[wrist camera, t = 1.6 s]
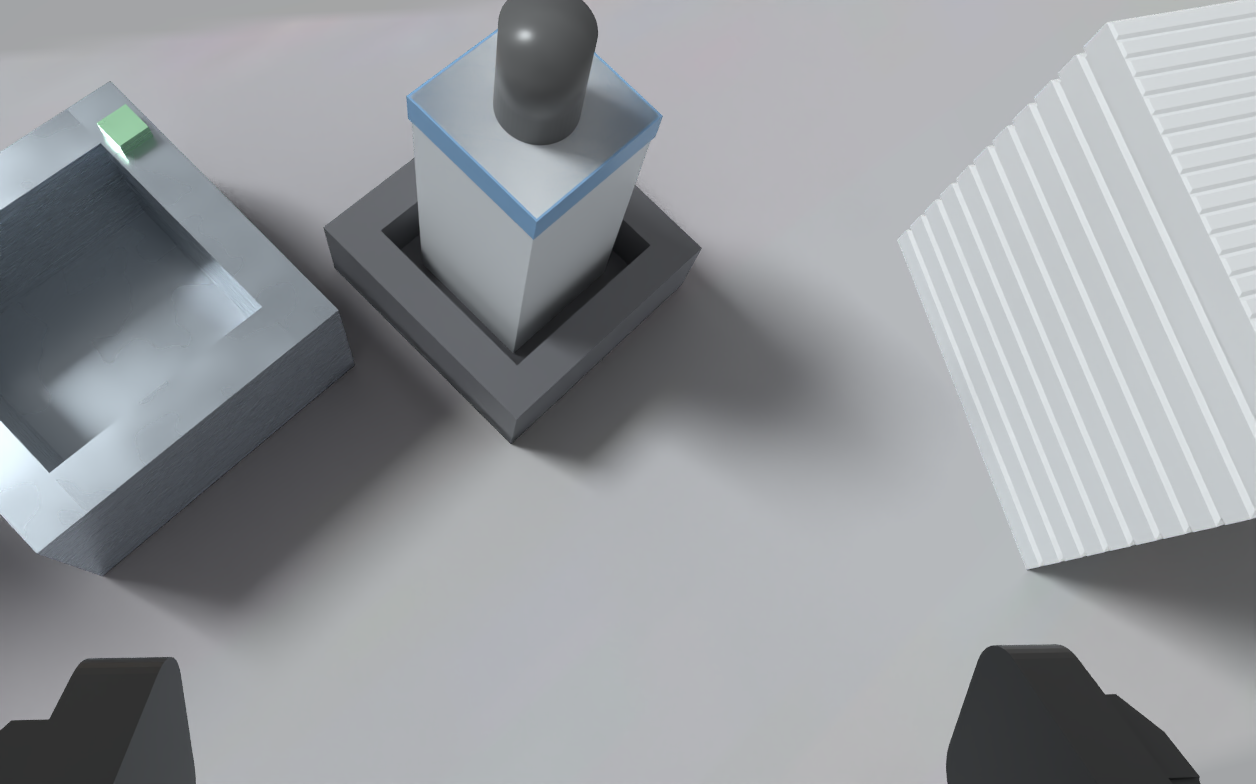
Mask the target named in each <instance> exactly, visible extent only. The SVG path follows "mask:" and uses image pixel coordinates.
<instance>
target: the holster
mask: <svg viewBox="0 0 1256 784" xmlns="http://www.w3.org/2000/svg"><path fill="white" fill-rule="evenodd" d="M324 231H325V235H326V238H327V242H328V245H329V249H330V253H331V256H332V260H333V263H334V267H335V269H336V270H337V271H338V272H339V273H340V274H341V275H342V276H343V277H344V278H345V279H346V280H347V281H348V282H349V283H350V284H351V285H352V286H353V287H354V288H355V289H356V290H357V291H358V292H359V293H360V294H361V295H362V296H363V297H364V298H365V299H366V300H367V301H368V302H369V303H370V304H371V305H372V306H373V307H374V308H375V309H376V310H377V311H378V312H379V313H380V314H381V315H382V316H383V317H384V318H385V319H386V320H387V321H388V322H389V323H390V324H391V325H392V326H393V327H394V328H395V329H396V330H397V331H398V332H399V333H400V334H401V335H402V336H403V337H404V338H405V339H406V340H407V341H408V342H409V343H410V344H411V345H412V346H413V347H414V348H415V349H416V350H417V351H418V352H419V353H420V354H421V355H422V356H423V357H424V358H425V359H426V360H427V361H428V362H429V363H430V364H431V365H432V366H433V367H434V368H435V369H436V370H437V371H438V372H439V373H440V374H441V375H442V376H443V377H444V378H445V379H446V380H447V381H448V382H449V383H450V384H451V385H452V386H453V387H454V388H455V389H456V390H457V391H458V392H459V393H460V394H461V395H462V396H463V397H464V398H465V399H466V400H467V401H468V402H469V403H470V404H471V405H472V406H473V407H474V408H475V409H476V410H477V411H478V412H479V413H480V414H481V415H482V416H483V417H484V418H485V419H486V420H487V421H488V422H489V423H490V424H491V425H492V426H493V427H494V428H495V429H496V430H497V431H498V432H499V433H500V434H501V435H502V436H503V437H504V438H505V439H506V440H507V441H508V442H509V443H510V444H511V443H512V442H514V441H515V440H516V439H517V438H518V437H519V436H520V435H521V434H522V433H523V432H524V431H525V430H526V429H527V428H529V427H530V426H531V425H532V424H533V423H534V422H535V421H536V420H537V419H538V418H539V417H540V416H541V415H542V414H544V413H545V412H546V411H547V410H548V409H549V408H550V407H551V406H552V405H553V404H554V403H555V402H556V401H557V400H559V399H560V398H561V397H562V396H563V395H564V394H565V393H566V392H567V391H568V390H569V389H570V388H571V387H572V386H574V385H575V384H576V383H577V382H578V381H579V380H580V379H581V378H582V377H583V376H584V375H585V374H586V373H587V372H589V371H590V370H591V369H592V368H593V367H594V366H595V365H596V364H597V363H598V362H599V361H600V360H601V359H602V358H604V357H605V356H606V355H607V354H608V353H609V352H610V351H611V350H612V349H613V348H614V347H615V346H616V345H617V344H619V343H620V342H621V341H622V340H623V339H624V338H625V337H626V336H627V335H628V334H629V333H630V332H631V331H632V330H634V329H635V328H636V327H637V326H638V325H639V324H640V323H641V322H642V321H643V320H644V319H645V318H646V317H647V316H649V315H650V314H651V313H652V312H653V311H654V310H655V309H656V308H657V307H658V306H659V305H660V304H661V303H662V302H664V301H665V300H666V299H667V298H668V297H669V296H670V295H671V294H672V293H673V292H674V291H675V290H676V289H677V288H679V287H680V286H681V285H682V283H683V281H684V279H685V277H686V276H687V274H688V272H689V270H690V268H691V267H692V265H693V263H694V261H695V259H696V258H697V256H698V254H699V252H700V250H701V249H702V248H701V247H700V246H699V245H698V244H697V243H696V242H695V241H694V240H693V239H691V238H690V237H689V236H688V235H687V234H686V233H685V232H684V231H683V230H682V229H681V228H680V227H679V226H678V225H677V224H676V223H675V222H674V221H672V220H671V219H670V218H669V217H668V216H667V215H666V214H665V213H664V212H663V211H662V210H661V209H660V208H659V207H658V206H657V205H656V204H655V203H654V202H652V201H651V200H650V199H649V198H648V197H647V196H646V195H645V194H644V193H643V192H642V191H641V190H640V189H639V188H638V187H637V186H636V185H635V186H634V189H633V192H632V195H631V197H630V200H629V203H628V206H627V209H626V212H625V214H624V217H623V220H622V223H621V226H620V229H619V231H618V234H617V237H616V240H615V243H614V245H613V248H612V251H611V254H610V257H609V260H608V262H607V265H606V268H605V271H604V273H603V274H602V275H601V276H599V277H598V278H597V279H596V280H595V281H594V282H593V283H592V284H590V285H589V286H588V287H587V288H586V289H585V290H584V291H583V292H581V293H580V294H579V295H578V296H577V297H576V298H575V299H574V300H573V301H571V302H570V303H569V304H568V305H567V306H566V307H565V308H564V309H562V310H561V311H560V312H559V313H558V314H557V315H556V316H555V317H553V318H552V319H551V320H550V321H549V322H548V323H547V324H546V325H544V326H543V327H542V328H541V329H540V330H539V331H538V332H537V333H536V334H534V335H533V336H532V337H531V338H530V339H529V340H528V341H527V342H525V343H524V344H523V345H522V346H521V347H520V348H519V349H518V350H516V351H515V352H514V353H512V352H511V351H510V350H509V349H508V348H507V347H506V346H505V345H504V344H503V343H502V342H501V341H500V340H499V339H498V338H497V337H496V336H495V335H494V334H493V333H492V332H491V331H490V330H489V329H488V328H487V327H486V326H485V325H484V324H483V323H482V322H481V321H480V320H479V319H478V318H477V317H476V316H475V315H474V314H473V313H472V312H471V311H470V310H469V309H468V308H467V307H466V306H465V305H464V304H463V303H462V302H461V301H460V300H459V299H458V298H457V297H456V296H455V295H454V294H453V293H452V292H451V291H450V290H449V289H448V288H447V287H446V286H445V285H444V284H443V283H442V282H440V281H439V280H438V279H437V278H436V277H435V276H434V275H433V274H432V273H431V272H430V271H429V270H428V269H427V268H426V267H425V266H424V265H423V264H422V255H421V241H420V227H419V213H418V199H417V186H416V172H415V158H413V159H412V160H411V161H410V162H408V163H407V164H406V165H404V166H403V167H402V168H400V169H399V170H398V171H397V172H395V173H394V174H393V175H391V176H390V177H389V178H387V179H386V180H385V181H383V182H382V183H381V184H380V185H378V186H377V187H376V188H374V189H373V190H372V191H370V192H369V193H368V194H367V195H365V196H364V197H363V198H361V199H360V200H359V201H357V202H356V203H355V204H353V205H352V206H351V207H350V208H348V209H347V210H346V211H344V212H343V213H342V214H340V215H339V216H338V217H337V218H335V219H334V220H333V221H331V222H330V223H329V224H327V225H326V226H325V227H324Z"/></svg>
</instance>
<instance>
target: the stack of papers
mask: <svg viewBox="0 0 1256 784" xmlns="http://www.w3.org/2000/svg"><path fill="white" fill-rule="evenodd" d="M1083 48H1084V50H1085V53H1081V54H1076V55H1075V56H1074V57H1073V58H1072V59H1071V60H1070V61H1069V62H1068V63H1067V64H1066V65H1065V66H1064V67H1063V68H1062V69H1061V70H1060V71H1059V72H1058V76H1059V78H1060V79H1054V80H1051V81H1050V82H1049V83H1048V84H1047V85H1046V86H1045V87H1044V88H1043V89H1042V90H1041V91H1040V92H1039V93H1038V94H1037V95H1036V96H1035V97H1034V99H1035V101H1036V103H1030V104H1027V105H1026V106H1025V108H1024V109H1023V110H1022V111H1021V112H1020V113H1019V114H1018V115H1017V116H1016V117H1015V118H1014V119H1013V120H1012V121H1013V123H1014V125H1009V126H1006V127H1005V128H1004V129H1003V130H1002V131H1001V132H1000V133H999V134H998V135H997V137H996V138H995V139H994V140H993V141H992V142H993V144H994V145H992V146H987V147H986V148H985V149H984V150H983V151H982V152H981V153H980V154H979V155H978V156H977V157H976V158H975V159H974V160H973V161H974V163H975V164H973V165H969V166H968V167H967V168H966V169H965V170H964V171H963V172H962V173H961V174H960V175H959V176H958V177H957V178H956V180H957V182H955V183H951V184H950V185H949V186H948V187H947V188H946V189H945V190H944V191H943V192H942V194H941V195H940V198H941V199H937V200H935V201H934V202H933V203H932V204H931V205H930V206H929V207H928V208H927V209H926V210H925V211H924V212H925V215H920V216H919V217H918V218H917V219H916V220H915V221H914V223H913V224H912V225H911V226H910V228H911V229H909V230H906V231H905V232H904V233H903V234H902V235H901V236H900V237H899V238H898V239H897V240H898V243H899V245H900V248H901V250H902V253H903V255H904V258H905V260H906V263H907V266H908V268H909V271H910V273H911V276H912V278H913V281H914V283H915V286H916V289H917V291H918V294H919V296H920V299H921V301H922V304H923V306H924V309H925V312H926V314H927V317H928V319H929V322H930V324H931V327H932V329H933V332H934V335H935V337H936V340H937V342H938V345H939V347H940V350H941V352H942V355H943V358H944V360H945V363H946V365H947V368H948V370H949V373H950V375H951V378H952V381H953V383H954V386H955V388H956V391H957V393H958V396H959V398H960V401H961V404H962V406H963V409H964V411H965V414H966V416H967V419H968V421H969V424H970V427H971V429H972V432H973V434H974V437H975V439H976V442H977V444H978V447H979V450H980V452H981V455H982V457H983V460H984V462H985V465H986V467H987V470H988V473H989V475H990V478H991V480H992V483H993V485H994V488H995V490H996V493H997V496H998V498H999V501H1000V503H1001V506H1002V508H1003V511H1004V513H1005V516H1006V519H1007V521H1008V524H1009V526H1010V529H1011V531H1012V534H1013V536H1014V539H1015V542H1016V544H1017V547H1018V549H1019V552H1020V554H1021V557H1022V559H1023V562H1024V565H1025V567H1026V570H1027V569H1032V568H1036V567H1040V566H1044V565H1050V564H1054V563H1059V562H1062V561H1067V560H1072V559H1076V558H1081V557H1084V556H1090V555H1094V554H1099V553H1103V552H1107V551H1112V550H1116V549H1121V548H1125V547H1130V546H1133V545H1139V544H1143V543H1148V542H1152V541H1156V540H1159V539H1162V538H1163V539H1165V538H1170V537H1174V536H1179V535H1183V534H1187V533H1190V532H1197V531H1201V530H1205V529H1210V528H1214V527H1218V526H1221V525H1224V524H1225V525H1228V524H1232V523H1237V522H1241V521H1246V520H1250V519H1253V518H1256V0H1240V1H1233V2H1227V3H1221V4H1215V5H1209V6H1203V7H1197V8H1191V9H1185V10H1179V11H1173V12H1166V13H1160V14H1154V15H1148V16H1142V17H1136V18H1130V19H1124V20H1118V21H1112V22H1107V23H1106V24H1105V25H1104V26H1103V27H1102V28H1101V29H1100V30H1099V31H1098V32H1097V33H1096V34H1095V35H1094V36H1093V37H1092V38H1091V39H1090V40H1089V41H1088V42H1087V43H1086V44H1085V45H1084V46H1083Z"/></svg>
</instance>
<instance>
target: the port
mask: <svg viewBox="0 0 1256 784" xmlns="http://www.w3.org/2000/svg"><path fill="white" fill-rule="evenodd" d="M354 365H355V364H354V361H353V357H352V354H351V350H350V347H349V344H348V340H347V337H346V334H345V330H344V327H343V324H342V320H341V317H340V313H339V310H338V309H337V308H336V307H335V306H334V305H333V304H332V303H331V302H330V301H329V300H328V299H327V298H326V297H325V296H324V295H323V294H322V293H321V292H320V291H319V290H318V289H317V288H316V287H315V286H314V285H313V284H312V283H311V282H310V281H309V280H308V279H307V278H306V277H305V276H304V275H303V274H302V273H301V272H300V271H299V270H298V269H297V268H296V267H295V266H294V265H293V264H292V263H291V262H290V261H289V260H288V259H287V258H286V257H285V256H284V255H283V254H282V253H281V252H280V251H279V250H278V249H277V248H276V247H275V246H274V245H273V244H272V243H271V242H270V241H269V240H268V239H267V238H266V237H265V236H264V235H263V234H262V233H261V232H260V231H259V230H258V229H257V228H256V227H255V226H254V225H253V224H252V223H251V222H250V221H249V220H248V219H247V218H246V217H245V216H244V215H243V214H242V213H241V212H240V211H239V210H238V209H237V208H236V207H235V206H234V205H233V204H232V203H231V202H230V201H229V200H228V199H227V198H226V197H225V196H224V195H223V194H222V193H221V192H220V191H219V190H218V189H217V188H216V187H215V186H214V185H213V184H212V183H211V182H210V181H209V180H208V179H207V177H206V176H205V175H204V174H203V173H202V172H201V171H200V170H199V169H198V168H197V167H196V166H195V165H194V164H193V163H192V162H191V161H190V160H189V159H188V158H187V157H186V156H185V155H184V154H183V153H182V152H181V151H180V150H179V149H178V148H177V147H176V146H175V145H174V144H173V143H172V142H171V141H170V140H169V139H168V138H167V137H166V136H165V135H164V134H163V133H162V132H161V131H160V130H159V129H158V128H157V127H156V126H155V125H154V124H153V123H152V122H151V121H150V120H149V119H148V118H147V117H146V116H145V115H144V114H143V113H142V112H141V111H140V110H139V109H138V108H137V107H136V106H135V105H134V104H133V103H132V102H131V101H130V100H129V99H128V98H127V97H126V96H125V95H124V94H123V93H122V92H121V91H120V90H119V89H118V88H117V87H116V86H115V85H114V84H113V83H112V82H111V81H109V82H108V83H106V84H105V85H103V86H102V87H100V88H98V89H97V90H95V91H94V92H92V93H91V94H89V95H88V96H86V97H85V98H83V99H81V100H80V101H78V102H77V103H75V104H74V105H72V106H71V107H69V108H67V109H66V110H64V111H63V112H61V113H60V114H58V115H57V116H55V117H54V118H52V119H50V120H49V121H47V122H46V123H44V124H43V125H41V126H40V127H38V128H36V129H35V130H33V131H32V132H30V133H29V134H27V135H26V136H24V137H23V138H21V139H19V140H18V141H16V142H15V143H13V144H12V145H10V146H9V147H7V148H6V149H4V150H2V151H1V152H0V514H1V515H2V517H3V518H4V519H5V520H6V521H7V522H8V523H9V524H10V525H11V526H12V527H13V528H14V530H15V531H16V532H17V533H18V534H19V535H20V536H21V537H22V538H23V539H24V540H25V541H26V542H27V544H28V545H29V546H30V547H31V548H32V549H33V550H34V551H35V552H36V553H37V554H40V555H42V556H45V557H48V558H51V559H54V560H57V561H60V562H63V563H66V564H69V565H72V566H74V567H77V568H80V569H83V570H86V571H89V572H92V573H95V574H98V575H101V576H103V575H104V574H105V573H107V572H108V571H109V570H110V569H111V568H113V567H114V566H115V565H116V564H117V563H119V562H120V561H121V560H122V559H123V558H125V557H126V556H127V555H128V554H129V553H131V552H132V551H133V550H134V549H135V548H137V547H138V546H139V545H140V544H141V543H143V542H144V541H145V540H146V539H147V538H148V537H150V536H151V535H152V534H153V533H154V532H156V531H157V530H158V529H159V528H160V527H162V526H163V525H164V524H165V523H166V522H168V521H169V520H170V519H171V518H172V517H174V516H175V515H176V514H177V513H178V512H180V511H181V510H182V509H183V508H184V507H186V506H187V505H188V504H189V503H190V502H192V501H193V500H194V499H195V498H196V497H198V496H199V495H200V494H201V493H202V492H203V491H205V490H206V489H207V488H208V487H209V486H211V485H212V484H213V483H214V482H215V481H217V480H218V479H219V478H220V477H221V476H223V475H224V474H225V473H226V472H227V471H229V470H230V469H231V468H232V467H233V466H235V465H236V464H237V463H238V462H239V461H241V460H242V459H243V458H244V457H245V456H247V455H248V454H249V453H250V452H251V451H253V450H254V449H255V448H256V447H257V446H258V445H260V444H261V443H262V442H263V441H264V440H266V439H267V438H268V437H269V436H270V435H272V434H273V433H274V432H275V431H276V430H278V429H279V428H280V427H281V426H282V425H284V424H285V423H286V422H287V421H288V420H290V419H291V418H292V417H293V416H294V415H296V414H297V413H298V412H299V411H300V410H302V409H303V408H304V407H305V406H306V405H308V404H309V403H310V402H311V401H312V400H313V399H315V398H316V397H317V396H318V395H319V394H321V393H322V392H323V391H324V390H325V389H327V388H328V387H329V386H330V385H331V384H333V383H334V382H335V381H336V380H337V379H339V378H340V377H341V376H342V375H343V374H345V373H346V372H347V371H348V370H349V369H351V368H352V367H353V366H354Z"/></svg>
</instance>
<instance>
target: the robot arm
mask: <svg viewBox="0 0 1256 784" xmlns="http://www.w3.org/2000/svg"><path fill="white" fill-rule="evenodd" d="M946 773H947V783H948V784H1200V781H1199V775H1198V774H1197V773H1196V771H1195V770H1194V769H1193V768H1192V766H1191V765H1190V764H1189V763H1188V761H1187V760H1186V759H1185V758H1184V756H1183V755H1182V754H1181V753H1180V751H1179V750H1178V749H1177V747H1176V746H1175V745H1174V744H1173V742H1172V741H1171V740H1170V739H1169V737H1168V736H1167V735H1166V734H1165V732H1164V731H1162V730H1161V729H1160V728H1158V727H1157V726H1156V725H1155V724H1153V723H1152V722H1151V721H1149V720H1148V719H1147V718H1146V717H1144V716H1143V715H1142V714H1141V713H1139V712H1138V711H1137V710H1135V709H1134V708H1133V707H1132V706H1130V705H1129V704H1128V703H1126V702H1125V701H1124V700H1123V699H1121V698H1120V697H1119V696H1117V695H1116V694H1108V695H1105V694H1104V693H1103V691H1102V690H1101V689H1100V687H1099V686H1098V685H1097V683H1096V682H1095V681H1094V679H1093V678H1092V677H1091V675H1090V674H1089V673H1088V671H1087V670H1086V669H1085V667H1084V666H1083V665H1082V664H1081V662H1080V661H1079V660H1078V658H1077V657H1076V656H1075V655H1074V654H1073V653H1072V652H1071V651H1070V650H1069V649H1068V648H1066V647H1064V646H1062V645H1057V644H1053V645H996V646H990V647H988V648H986V649H985V650H984V651H983V652H982V654H981V655H980V657H979V659H978V662H977V665H976V668H975V671H974V674H973V676H972V679H971V682H970V685H969V688H968V691H967V694H966V697H965V700H964V703H963V706H962V709H961V712H960V715H959V718H958V721H957V723H956V726H955V729H954V732H953V735H952V738H951V741H950V744H949V748H948V752H947V760H946ZM0 784H196V777H195V767H194V760H193V753H192V747H191V740H190V733H189V727H188V720H187V713H186V707H185V700H184V693H183V686H182V680H181V674H180V669H179V666H178V663H177V661H176V660H175V659H174V658H172V657H153V658H95V659H85V660H83V661H82V662H81V663H80V664H79V665H78V666H77V668H76V669H75V671H74V673H73V674H72V676H71V678H70V680H69V682H68V684H67V686H66V688H65V690H64V692H63V694H62V696H61V697H60V699H59V701H58V703H57V705H56V707H55V709H54V711H53V713H52V715H51V717H50V719H49V720H15V721H10V722H9V723H8V724H7V725H6V726H5V727H4V728H3V729H1V730H0Z"/></svg>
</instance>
